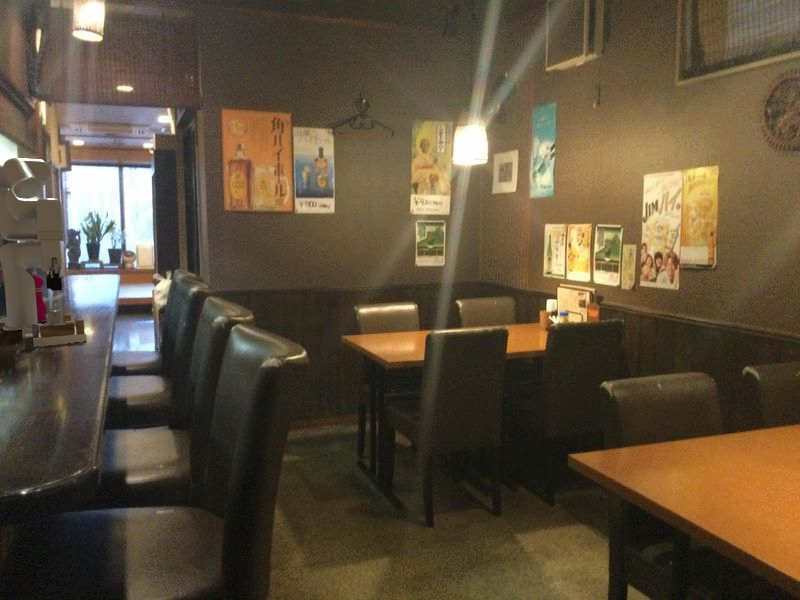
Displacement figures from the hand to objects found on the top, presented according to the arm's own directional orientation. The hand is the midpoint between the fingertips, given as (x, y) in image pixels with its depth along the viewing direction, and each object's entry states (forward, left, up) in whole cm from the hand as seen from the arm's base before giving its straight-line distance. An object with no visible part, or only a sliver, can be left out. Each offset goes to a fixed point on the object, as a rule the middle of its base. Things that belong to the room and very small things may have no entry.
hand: (54, 289), depth 210 cm
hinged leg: (+5, -6, -14) cm, 16 cm away
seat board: (0, -3, -17) cm, 17 cm away
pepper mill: (-38, +37, -17) cm, 56 cm away
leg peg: (-10, +12, -17) cm, 23 cm away
